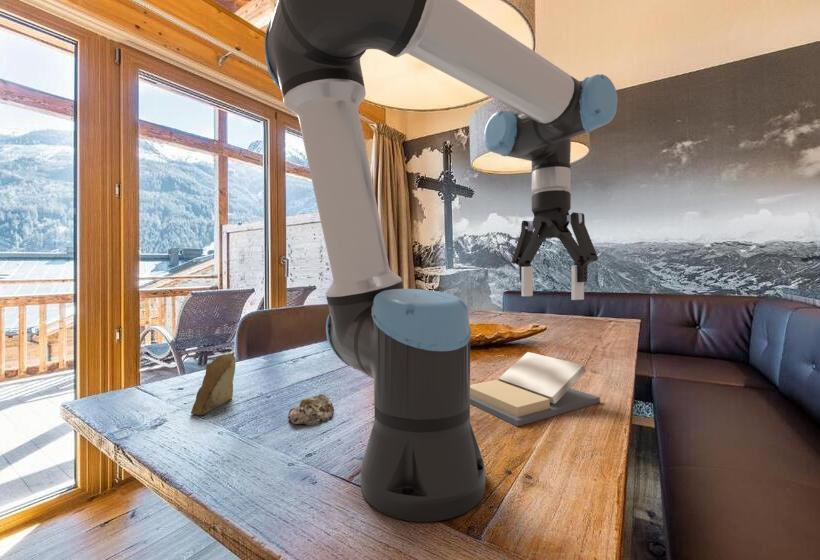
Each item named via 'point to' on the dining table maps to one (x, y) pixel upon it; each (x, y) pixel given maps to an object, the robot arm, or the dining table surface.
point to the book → (543, 375)
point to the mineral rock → (312, 411)
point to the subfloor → (524, 402)
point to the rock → (215, 385)
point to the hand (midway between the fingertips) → (550, 297)
